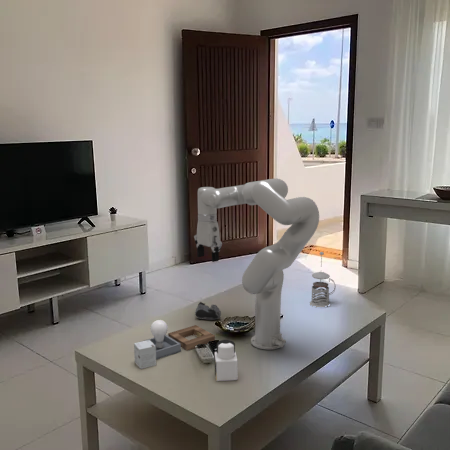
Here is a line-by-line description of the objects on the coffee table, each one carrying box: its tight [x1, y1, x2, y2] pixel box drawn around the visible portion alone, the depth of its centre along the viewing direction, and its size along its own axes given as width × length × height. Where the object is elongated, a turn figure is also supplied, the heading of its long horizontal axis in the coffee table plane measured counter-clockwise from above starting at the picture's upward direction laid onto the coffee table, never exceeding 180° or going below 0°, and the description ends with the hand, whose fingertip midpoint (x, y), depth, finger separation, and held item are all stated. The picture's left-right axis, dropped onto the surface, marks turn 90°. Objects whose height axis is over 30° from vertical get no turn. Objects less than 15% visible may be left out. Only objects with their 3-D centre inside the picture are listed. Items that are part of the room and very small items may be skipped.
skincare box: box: [133, 339, 157, 370], centre depth 175 cm, size 6×6×7 cm
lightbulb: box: [149, 319, 169, 349], centre depth 185 cm, size 6×6×11 cm
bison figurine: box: [194, 301, 222, 321], centre depth 217 cm, size 12×7×10 cm
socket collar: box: [167, 324, 216, 352], centre depth 194 cm, size 13×13×2 cm
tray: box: [140, 334, 182, 361], centre depth 185 cm, size 11×11×3 cm
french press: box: [309, 251, 336, 308], centre depth 230 cm, size 10×12×25 cm
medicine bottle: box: [214, 339, 239, 382], centre depth 166 cm, size 7×7×12 cm
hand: (207, 258), depth 205 cm, fingers open, 9 cm apart
